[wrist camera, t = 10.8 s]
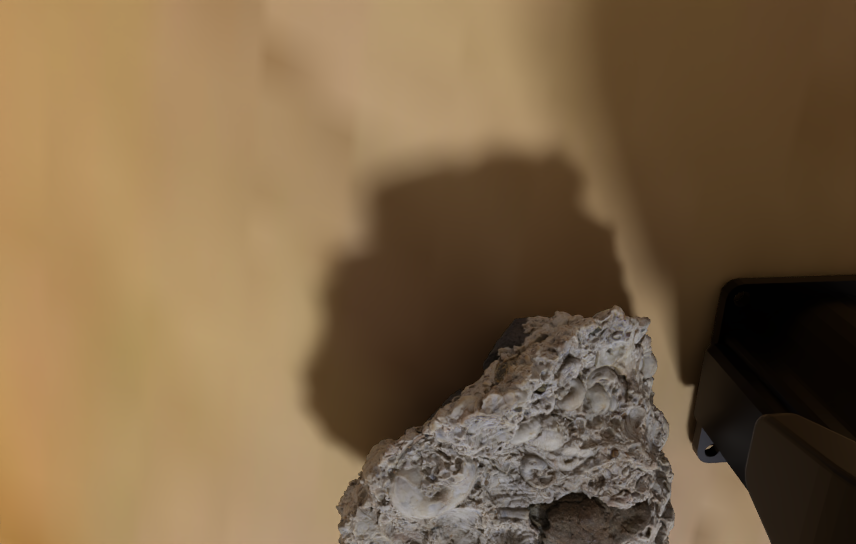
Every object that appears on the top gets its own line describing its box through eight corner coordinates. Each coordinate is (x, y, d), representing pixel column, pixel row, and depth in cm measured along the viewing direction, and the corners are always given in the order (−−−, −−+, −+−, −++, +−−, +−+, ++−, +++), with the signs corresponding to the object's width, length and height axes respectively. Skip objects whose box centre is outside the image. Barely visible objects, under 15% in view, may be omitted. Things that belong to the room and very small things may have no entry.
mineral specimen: (599, 231, 23) (730, 518, 27) (288, 382, 25) (456, 635, 29) (662, 309, 18) (815, 655, 22) (257, 500, 19) (470, 791, 23)
